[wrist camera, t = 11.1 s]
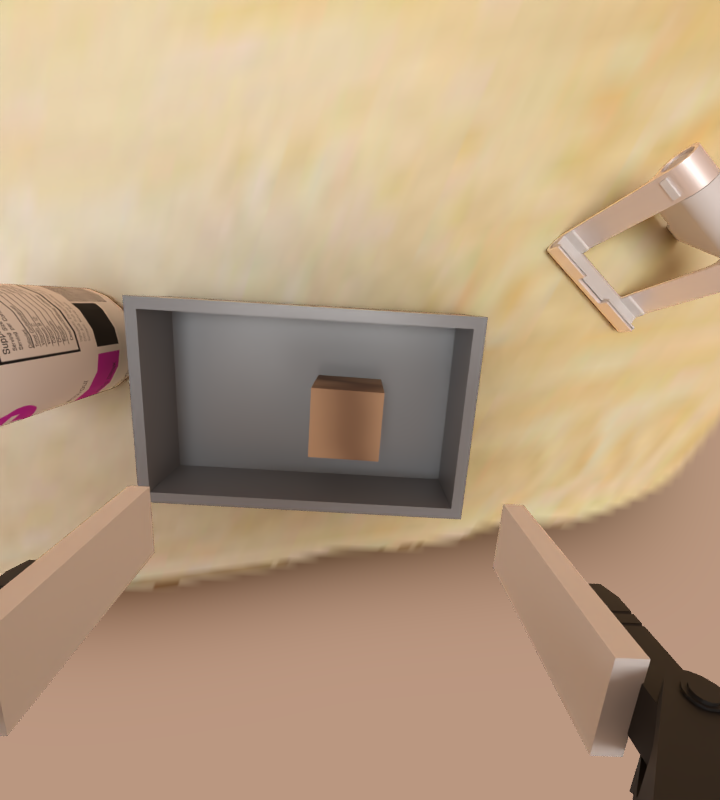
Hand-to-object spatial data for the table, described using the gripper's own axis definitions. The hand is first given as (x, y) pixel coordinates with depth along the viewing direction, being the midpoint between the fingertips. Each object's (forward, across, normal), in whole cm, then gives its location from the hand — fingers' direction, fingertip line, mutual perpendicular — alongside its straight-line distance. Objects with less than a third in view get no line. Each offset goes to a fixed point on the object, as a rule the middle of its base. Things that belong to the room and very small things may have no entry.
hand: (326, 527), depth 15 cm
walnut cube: (+18, 0, 0) cm, 18 cm away
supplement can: (+19, -20, +4) cm, 28 cm away
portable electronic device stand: (+19, +20, +13) cm, 31 cm away
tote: (+19, -2, 0) cm, 19 cm away
